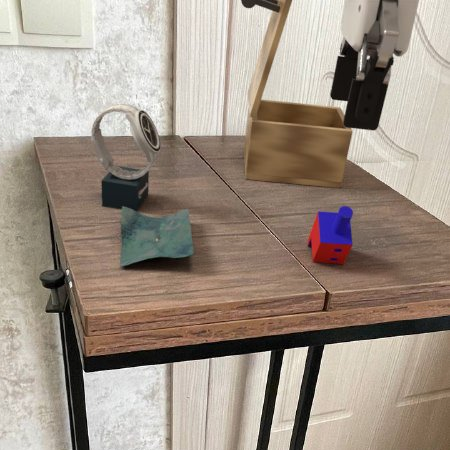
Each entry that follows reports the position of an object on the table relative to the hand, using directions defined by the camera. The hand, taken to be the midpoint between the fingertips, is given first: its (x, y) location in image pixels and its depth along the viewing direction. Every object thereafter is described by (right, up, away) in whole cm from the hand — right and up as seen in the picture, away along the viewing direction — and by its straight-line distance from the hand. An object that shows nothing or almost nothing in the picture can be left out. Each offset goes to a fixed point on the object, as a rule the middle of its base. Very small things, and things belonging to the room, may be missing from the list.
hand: (351, 113), depth 62 cm
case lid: (-6, +18, +21) cm, 28 cm away
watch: (-25, -3, +17) cm, 30 cm away
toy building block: (-1, -12, +10) cm, 16 cm away
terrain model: (-20, -11, +8) cm, 25 cm away
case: (-3, +6, +31) cm, 32 cm away
